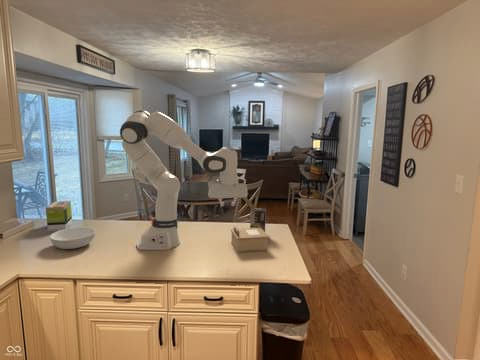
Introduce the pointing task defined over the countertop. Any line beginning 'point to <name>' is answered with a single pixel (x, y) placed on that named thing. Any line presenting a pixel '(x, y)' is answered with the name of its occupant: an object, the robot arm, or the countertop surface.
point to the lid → (248, 233)
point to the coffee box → (258, 218)
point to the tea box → (59, 215)
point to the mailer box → (249, 245)
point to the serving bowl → (72, 237)
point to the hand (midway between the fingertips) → (227, 205)
